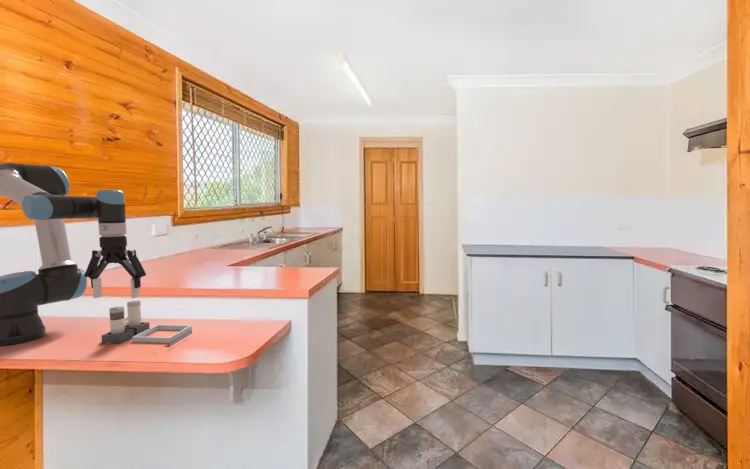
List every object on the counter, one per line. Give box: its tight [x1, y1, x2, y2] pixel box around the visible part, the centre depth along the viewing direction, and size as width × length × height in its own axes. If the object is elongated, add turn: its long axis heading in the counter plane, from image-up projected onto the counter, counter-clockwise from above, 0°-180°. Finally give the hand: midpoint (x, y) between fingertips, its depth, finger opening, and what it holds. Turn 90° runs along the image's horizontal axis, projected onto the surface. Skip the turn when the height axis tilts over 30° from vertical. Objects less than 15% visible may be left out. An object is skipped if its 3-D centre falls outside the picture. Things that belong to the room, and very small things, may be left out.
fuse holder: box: [99, 321, 151, 345], centre depth 128 cm, size 7×16×4 cm, turn 176°
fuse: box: [126, 300, 142, 327], centre depth 132 cm, size 4×4×11 cm
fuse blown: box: [108, 306, 126, 335], centre depth 124 cm, size 4×4×11 cm
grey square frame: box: [131, 324, 193, 348], centre depth 129 cm, size 13×13×3 cm
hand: (116, 297), depth 123 cm, fingers open, 13 cm apart
